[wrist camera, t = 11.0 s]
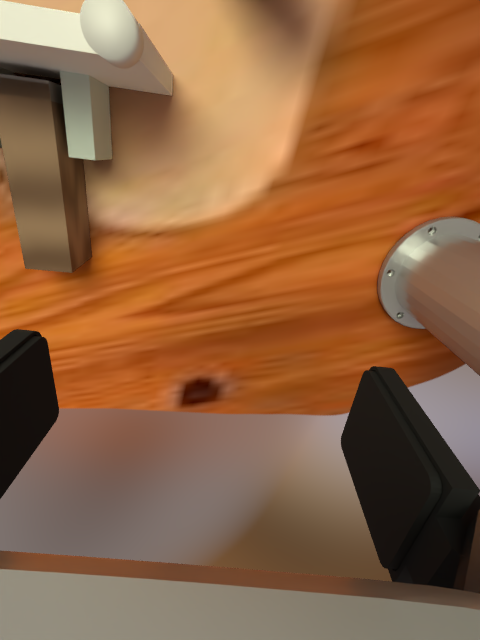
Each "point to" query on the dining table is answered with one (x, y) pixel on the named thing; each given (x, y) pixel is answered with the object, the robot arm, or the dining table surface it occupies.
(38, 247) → the rail
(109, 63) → the pale grey legged piece
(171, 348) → the dining table surface
